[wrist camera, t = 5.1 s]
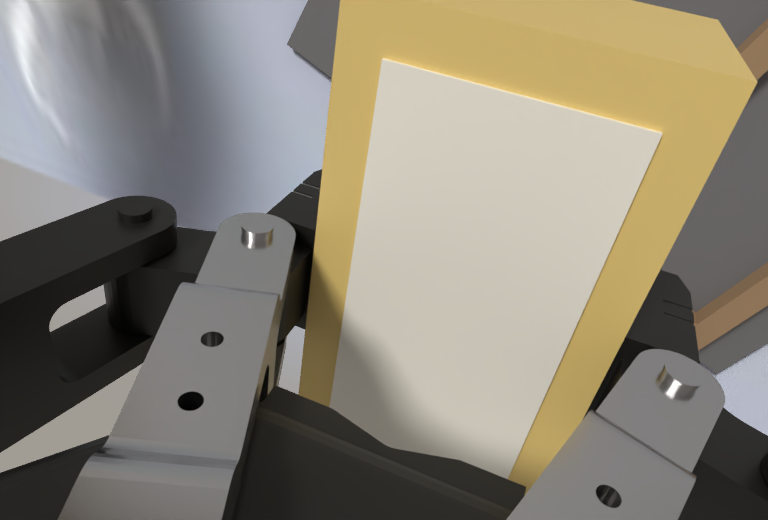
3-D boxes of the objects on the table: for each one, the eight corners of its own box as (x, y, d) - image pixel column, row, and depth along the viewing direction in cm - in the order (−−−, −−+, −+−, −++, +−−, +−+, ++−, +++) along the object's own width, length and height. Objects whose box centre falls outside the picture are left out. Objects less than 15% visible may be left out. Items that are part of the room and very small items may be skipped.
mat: (291, 42, 30) (277, 48, 29) (478, -343, 21) (469, -357, 20) (715, 368, 32) (718, 387, 30) (1076, 145, 22) (1102, 160, 21)
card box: (429, -46, 11) (339, -19, 7) (718, 19, 10) (758, 83, 6) (358, 354, 16) (289, 468, 13) (535, 421, 15) (509, 563, 12)
